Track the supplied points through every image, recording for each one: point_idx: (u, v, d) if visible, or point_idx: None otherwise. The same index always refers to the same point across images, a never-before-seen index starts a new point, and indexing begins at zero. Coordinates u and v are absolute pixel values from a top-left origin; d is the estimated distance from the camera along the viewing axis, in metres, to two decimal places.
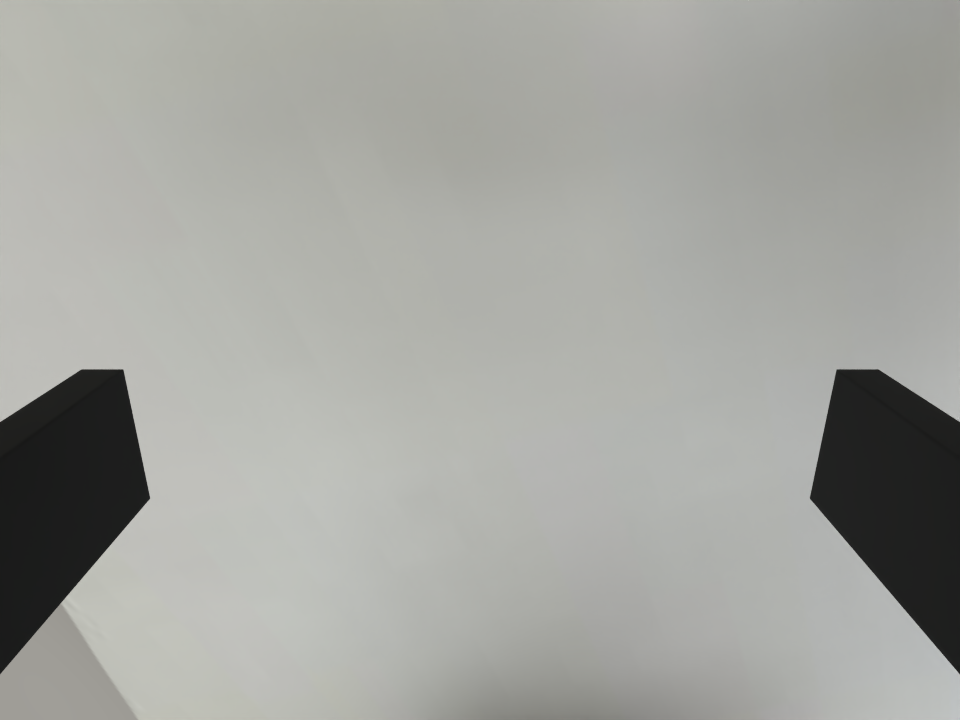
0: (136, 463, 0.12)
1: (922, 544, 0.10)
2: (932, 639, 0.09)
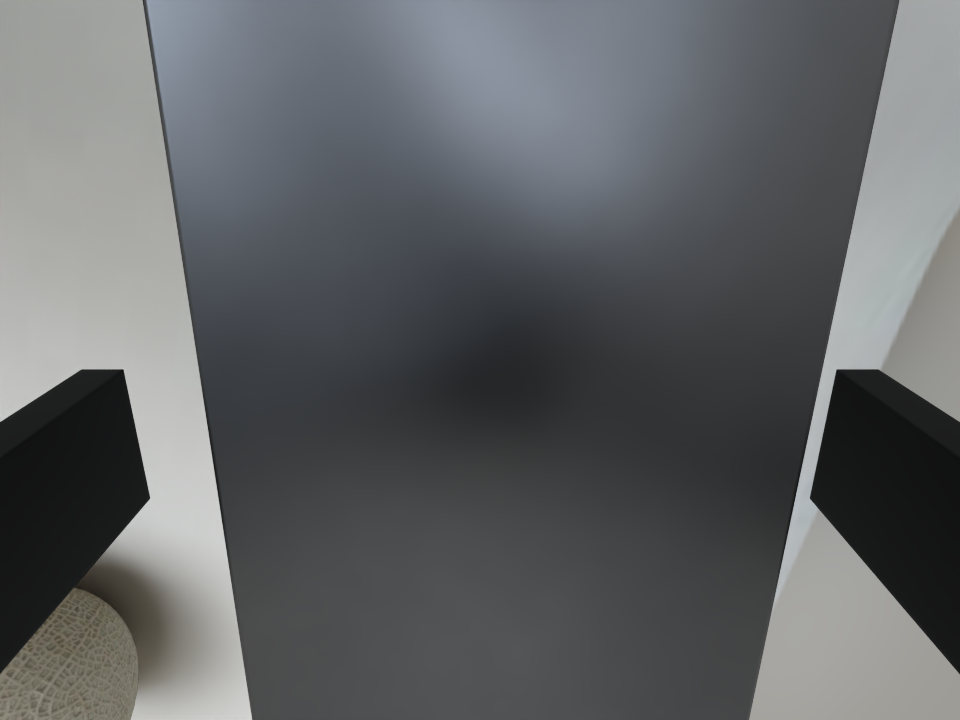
0: (136, 463, 0.12)
1: (922, 544, 0.10)
2: (932, 639, 0.09)
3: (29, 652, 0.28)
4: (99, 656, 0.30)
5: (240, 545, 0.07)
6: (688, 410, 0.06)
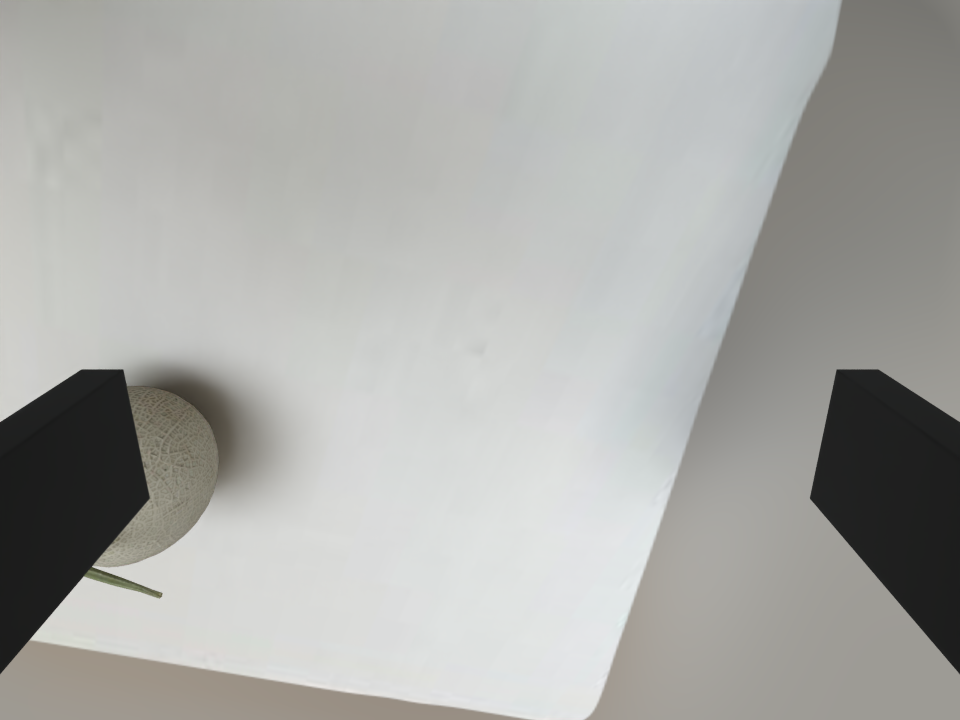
0: (136, 463, 0.12)
1: (922, 544, 0.10)
2: (932, 639, 0.09)
3: (150, 414, 0.39)
4: (195, 428, 0.41)
5: None
6: None
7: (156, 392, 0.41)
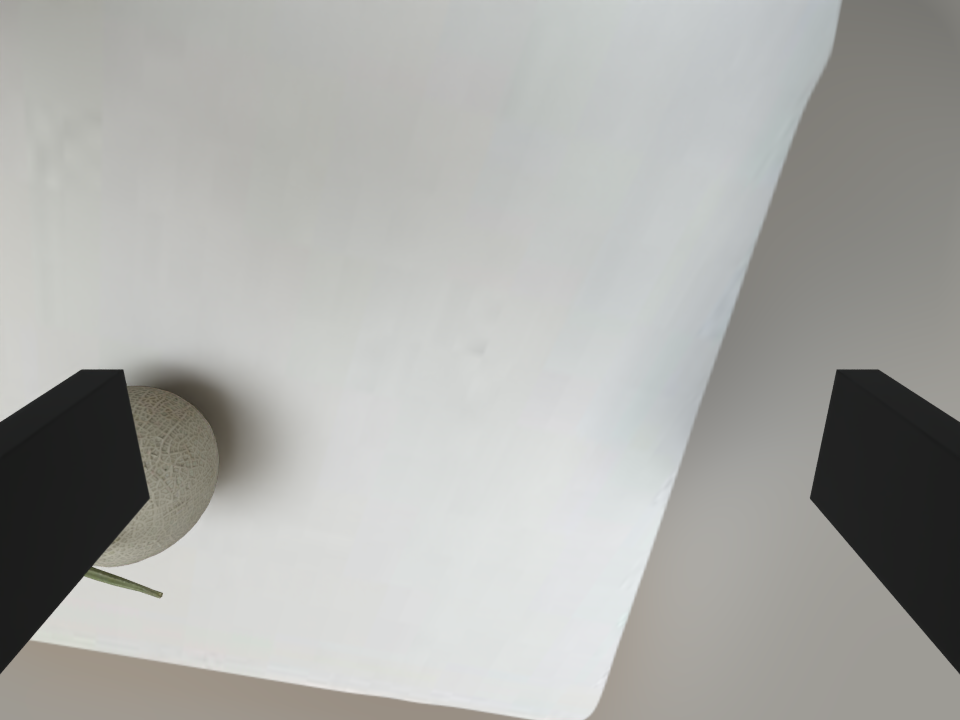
0: (136, 463, 0.12)
1: (922, 544, 0.10)
2: (932, 639, 0.09)
3: (151, 414, 0.39)
4: (196, 428, 0.41)
5: None
6: None
7: (156, 392, 0.41)
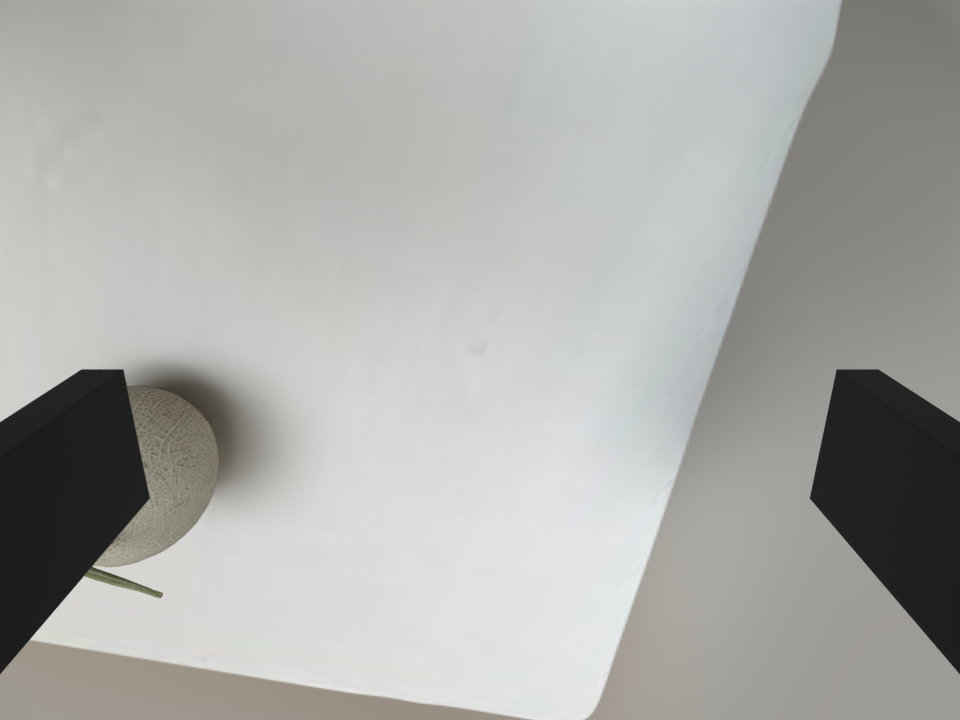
0: (136, 463, 0.12)
1: (922, 544, 0.10)
2: (932, 639, 0.09)
3: (151, 414, 0.39)
4: (196, 428, 0.41)
5: None
6: None
7: (156, 392, 0.41)
